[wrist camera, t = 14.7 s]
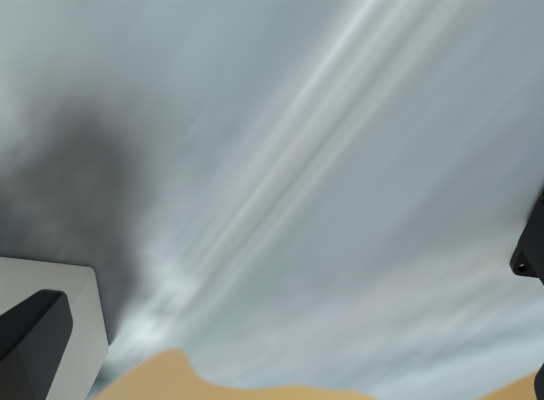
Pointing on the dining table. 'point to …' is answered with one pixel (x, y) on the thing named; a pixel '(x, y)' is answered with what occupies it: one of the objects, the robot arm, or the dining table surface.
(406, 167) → the dining table surface
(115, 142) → the dining table surface
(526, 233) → the robot arm
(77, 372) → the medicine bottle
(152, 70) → the dining table surface
